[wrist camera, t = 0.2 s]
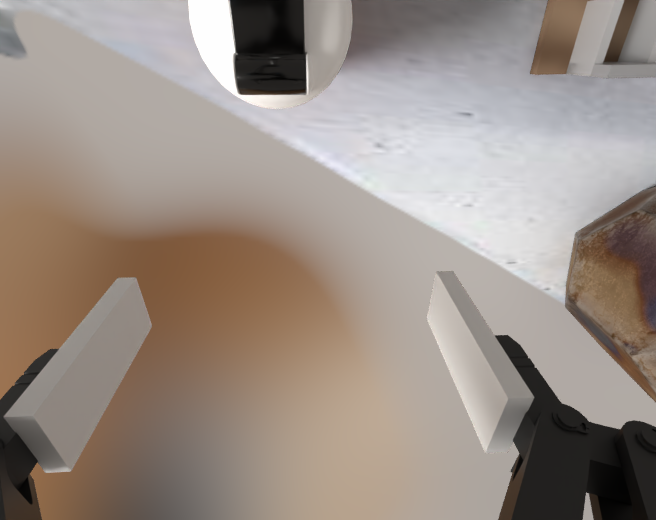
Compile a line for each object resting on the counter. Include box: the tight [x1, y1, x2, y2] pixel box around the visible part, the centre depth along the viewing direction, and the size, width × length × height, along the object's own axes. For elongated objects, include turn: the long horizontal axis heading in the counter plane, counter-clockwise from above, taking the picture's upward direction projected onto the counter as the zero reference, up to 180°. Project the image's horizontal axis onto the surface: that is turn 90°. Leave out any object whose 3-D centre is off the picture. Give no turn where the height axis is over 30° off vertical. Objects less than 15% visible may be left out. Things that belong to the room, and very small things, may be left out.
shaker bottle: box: [188, 0, 353, 109], centre depth 25 cm, size 9×9×20 cm
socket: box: [566, 0, 656, 78], centre depth 32 cm, size 6×6×6 cm
